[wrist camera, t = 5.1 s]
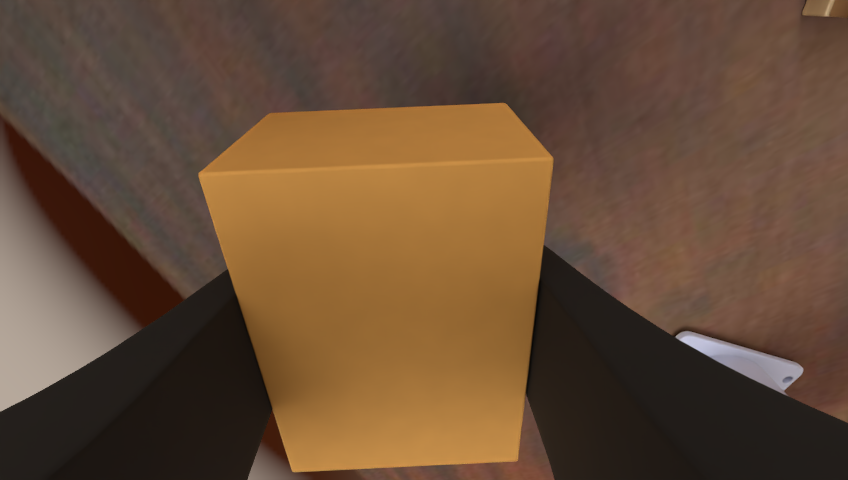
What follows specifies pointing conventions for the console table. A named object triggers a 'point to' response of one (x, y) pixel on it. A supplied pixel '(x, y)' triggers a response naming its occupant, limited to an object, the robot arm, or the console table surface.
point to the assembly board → (826, 8)
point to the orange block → (387, 278)
